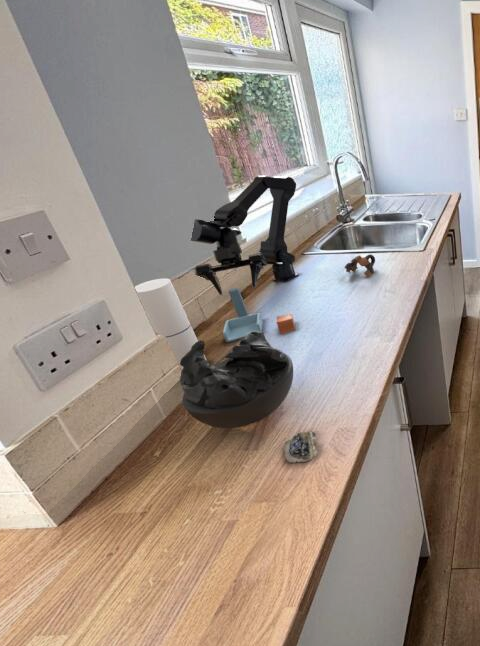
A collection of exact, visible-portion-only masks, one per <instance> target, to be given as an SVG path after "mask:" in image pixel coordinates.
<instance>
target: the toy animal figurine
mask: <svg viewBox="0 0 480 646" xmlns="http://www.w3.org/2000/svg"><path fill="white" fill-rule="evenodd" d="M375 263H376V257H375V256H374V255H373V254H367V255H366V256H364V257H363V256H361V255H359V254H358V255H357V256H355V257H354V258H352V260H350V262H348V263H346V264H345V266H344V268H345V272H346V273H348V274H351V272H353V273H355V272H356V271H357V269H358V265H360V267H364V268H366V271H365V272H364V273H363V274H364V275H365V276H366V278H369V277H370V276H372V275H373V274H374V273H375V269H374V265H375Z"/></svg>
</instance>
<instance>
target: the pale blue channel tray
mask: <svg viewBox="0 0 480 646" xmlns="http://www.w3.org/2000/svg"><path fill="white" fill-rule="evenodd" d="M228 295H229V297H230V299H231V302H232V305H233V307H234V310H235V312H236V315H237V317H235V318H231V319H226V320H225V323H224V327H223V331H222V335H223V337H224V340H225V342H226V343H229V342H234V341H237V340H242V339H243V338H244V337H245V336H247V335H248V334H250V333H251V332H263V326H264V325H263V323H264V320H263V318H262V315H261V312H256V313H251V314H249V312H248V309H247V307H246V304H245V302H244V298H243V297H242V294H241V291H240V288H239V287H236V288H231V289H229V290H228Z"/></svg>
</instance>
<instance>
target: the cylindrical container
mask: <svg viewBox="0 0 480 646" xmlns="http://www.w3.org/2000/svg"><path fill="white" fill-rule="evenodd" d="M134 287H135V289H136V291H137V294H138V296H139V298H140V300H141V302H142V305H143V307H144V309H145V312H146V314H147V316H148V318H149V321H150V323H151V325H152V327H153V329H154V330H155V332H156V333H158V334H161V335H164V336H165V337H166V338H167V339H168V341H169V343H170V346H171V349H172V352H173V353H174V355H175V357H176V359H177V361H178V364H179V366H180V368H181V370H182V369H183V366H181V365H180V361H181V359H182V357H184V356H185V355H186V353H188V352H189V351H190V350H191V347H192V346H193V345H194V344H195V343H196V342H198V341H199V340H198V337H197V336H196V333H195V331H194V329H193V327H192V324H191V322H190V320H189V318H188V315H187V313H186V311H185V309H184V306H183V305H182V303H181V300H180V298H179V296H178V293H177V292H176V289H175V287H174V285H173V283H172V280H171V279H170V278H165V277H164V278H156V279H151V280H147V281H144V282H141V283H139V284H137V285H135V286H134ZM204 357H205V359H206V360H207V358H206V355H205V354H204ZM208 365H210V364H209V363H208Z"/></svg>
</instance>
